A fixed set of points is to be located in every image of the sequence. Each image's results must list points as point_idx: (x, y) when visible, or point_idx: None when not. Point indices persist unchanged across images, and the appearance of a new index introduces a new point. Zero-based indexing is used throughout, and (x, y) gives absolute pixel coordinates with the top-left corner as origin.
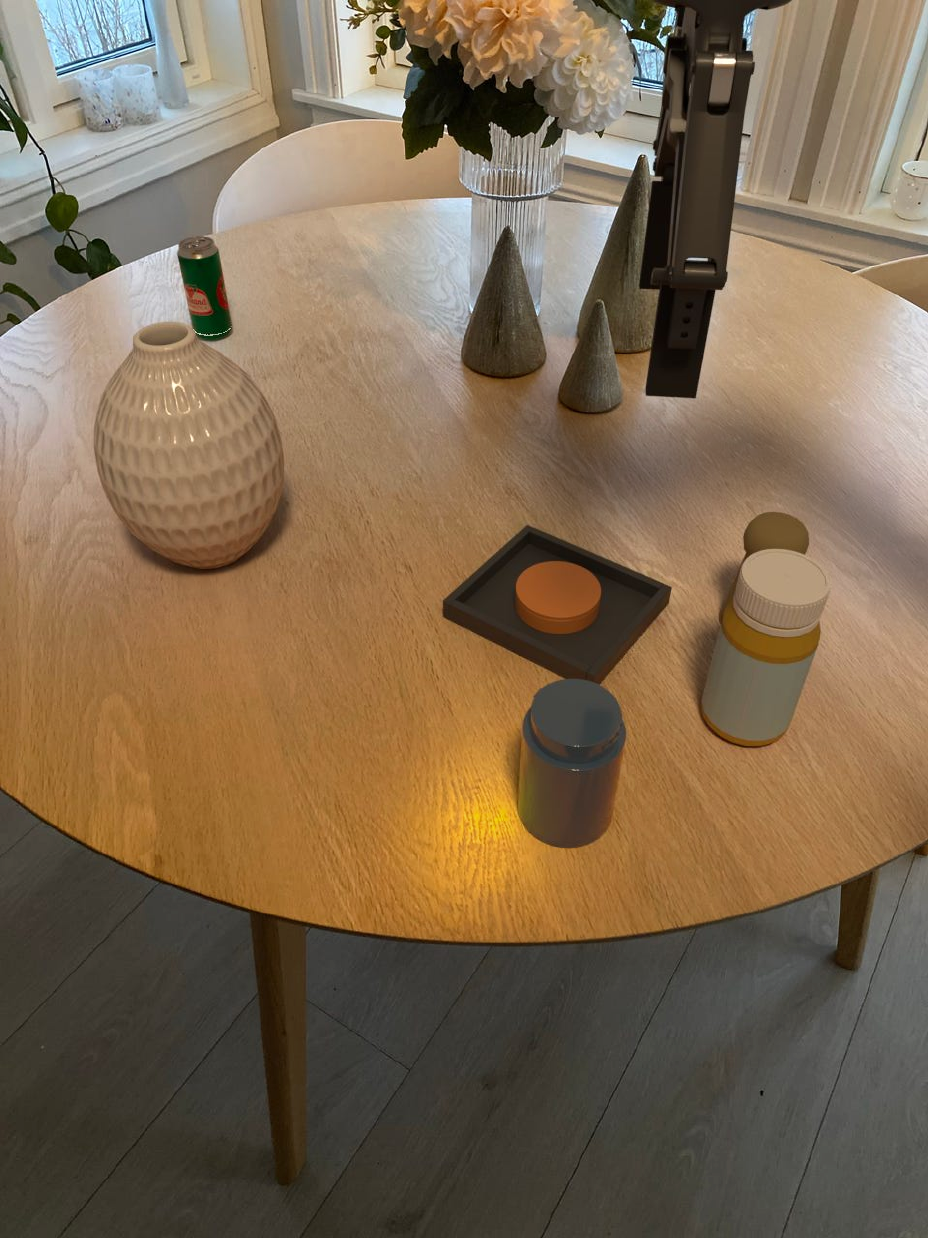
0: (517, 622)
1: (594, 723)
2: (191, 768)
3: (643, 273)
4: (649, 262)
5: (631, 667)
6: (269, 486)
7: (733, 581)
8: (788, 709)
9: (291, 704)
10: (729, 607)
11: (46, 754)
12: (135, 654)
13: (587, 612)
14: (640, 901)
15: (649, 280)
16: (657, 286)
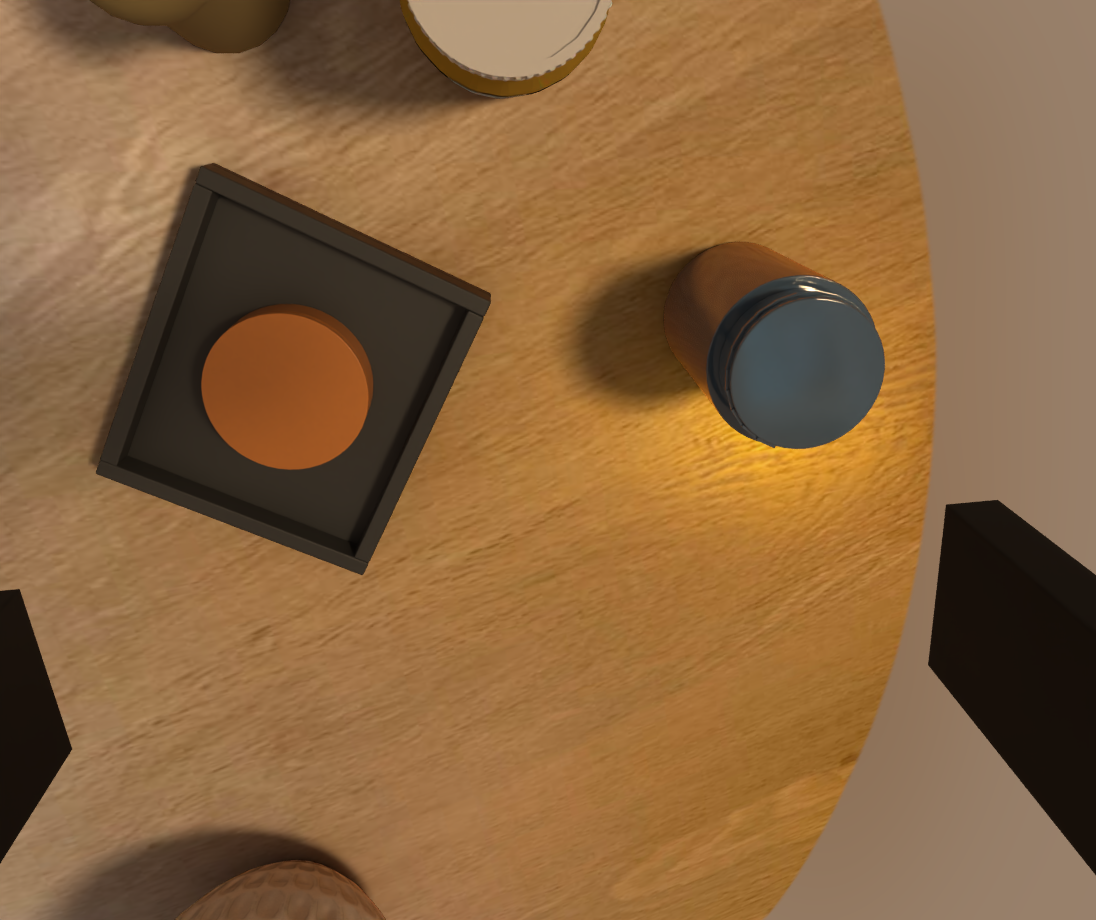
0: (357, 441)
1: (835, 343)
2: (716, 776)
3: (36, 790)
4: (8, 815)
5: (413, 229)
6: None
7: (187, 32)
8: None
9: (594, 706)
10: (496, 85)
11: (713, 916)
12: (539, 901)
13: (336, 332)
14: (883, 189)
15: (46, 744)
16: (42, 692)
